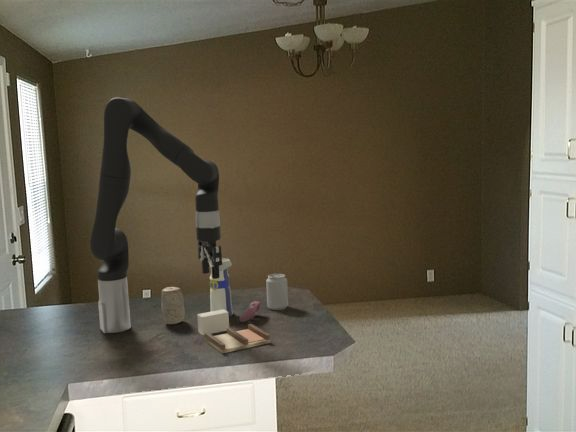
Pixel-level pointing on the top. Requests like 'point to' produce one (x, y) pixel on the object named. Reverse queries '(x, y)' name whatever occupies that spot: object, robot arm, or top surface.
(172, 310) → the carving
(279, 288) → the can
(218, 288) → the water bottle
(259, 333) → the slot rack
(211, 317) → the plug block
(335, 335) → the top surface
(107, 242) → the robot arm
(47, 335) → the top surface
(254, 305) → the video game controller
